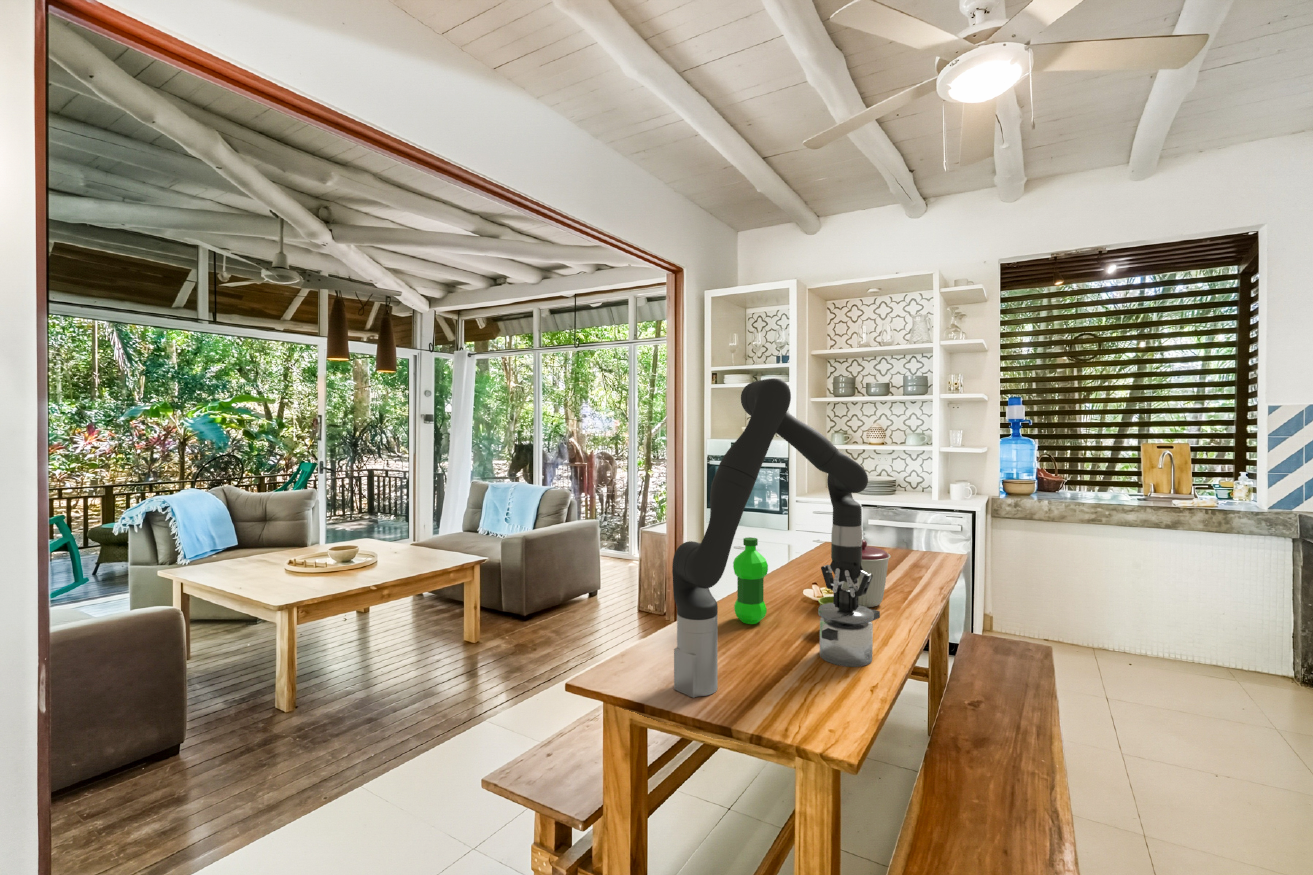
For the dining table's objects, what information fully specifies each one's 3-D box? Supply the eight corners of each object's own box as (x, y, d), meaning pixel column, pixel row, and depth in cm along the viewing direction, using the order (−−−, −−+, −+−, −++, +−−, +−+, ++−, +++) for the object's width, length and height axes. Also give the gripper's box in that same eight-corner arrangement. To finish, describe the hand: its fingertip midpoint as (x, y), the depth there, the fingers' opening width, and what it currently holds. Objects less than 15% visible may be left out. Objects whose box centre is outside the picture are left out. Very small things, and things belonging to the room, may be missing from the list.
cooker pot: (850, 674, 151) (850, 637, 150) (803, 659, 160) (803, 624, 160) (897, 647, 168) (898, 614, 167) (853, 635, 177) (853, 603, 177)
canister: (821, 602, 207) (821, 539, 206) (850, 591, 219) (851, 532, 219) (872, 615, 194) (872, 548, 193) (900, 603, 206) (901, 539, 205)
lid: (856, 628, 152) (857, 601, 152) (808, 614, 162) (808, 589, 161) (883, 615, 161) (883, 590, 161) (835, 603, 171) (836, 580, 171)
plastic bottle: (773, 620, 190) (774, 538, 189) (755, 629, 182) (755, 543, 181) (745, 613, 197) (745, 534, 195) (726, 622, 188) (726, 539, 187)
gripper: (814, 540, 163) (813, 605, 164) (865, 548, 153) (864, 618, 154) (829, 536, 168) (829, 599, 169) (879, 544, 158) (878, 611, 159)
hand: (845, 608), depth 161 cm, fingers closed on lid, 3 cm apart
